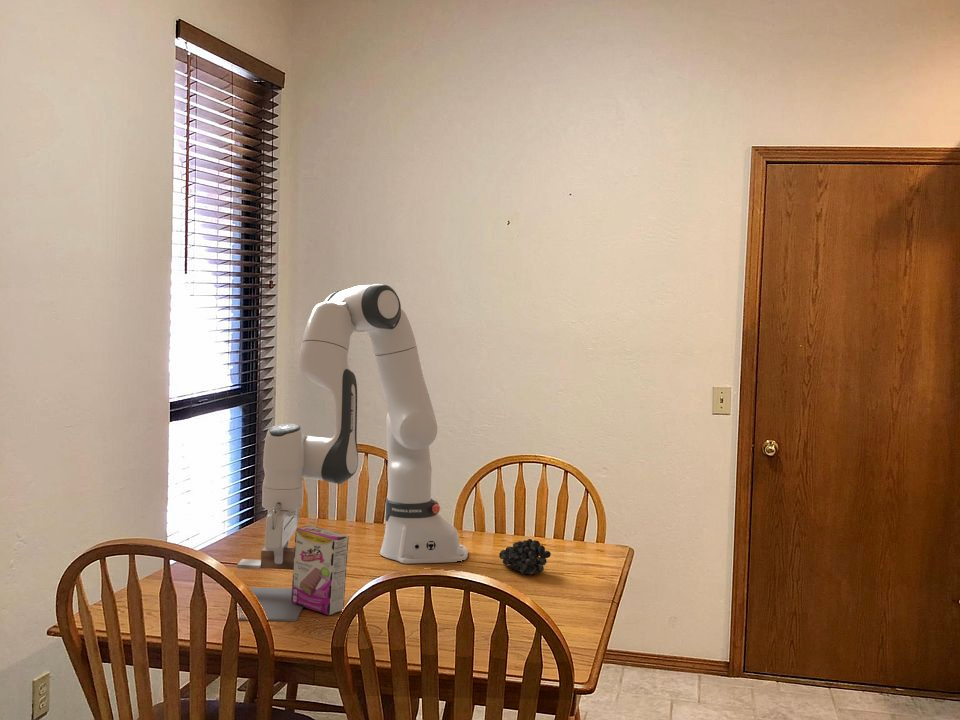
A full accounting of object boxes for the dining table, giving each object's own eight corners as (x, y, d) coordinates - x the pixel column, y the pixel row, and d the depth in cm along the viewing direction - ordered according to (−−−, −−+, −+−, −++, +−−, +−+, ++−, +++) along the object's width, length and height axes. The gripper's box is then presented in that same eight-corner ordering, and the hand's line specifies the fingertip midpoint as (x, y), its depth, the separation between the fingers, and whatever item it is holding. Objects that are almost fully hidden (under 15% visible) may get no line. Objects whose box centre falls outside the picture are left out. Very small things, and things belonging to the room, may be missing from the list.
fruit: (495, 528, 246) (536, 540, 234) (518, 534, 251) (559, 546, 239) (486, 562, 244) (526, 576, 233) (509, 568, 249) (550, 581, 238)
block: (300, 564, 220) (300, 547, 220) (296, 570, 216) (297, 552, 216) (241, 562, 220) (242, 545, 220) (237, 568, 216) (237, 550, 216)
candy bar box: (289, 603, 210) (294, 528, 209) (305, 598, 214) (310, 524, 213) (328, 616, 204) (334, 539, 202) (344, 611, 208) (350, 534, 207)
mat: (311, 590, 221) (311, 588, 221) (296, 621, 201) (296, 619, 201) (248, 589, 220) (248, 587, 220) (227, 619, 200) (227, 617, 200)
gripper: (288, 509, 207) (286, 574, 208) (304, 489, 227) (302, 548, 228) (258, 508, 207) (256, 573, 208) (277, 488, 227) (275, 547, 228)
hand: (281, 560), depth 218 cm, fingers closed on block, 3 cm apart
